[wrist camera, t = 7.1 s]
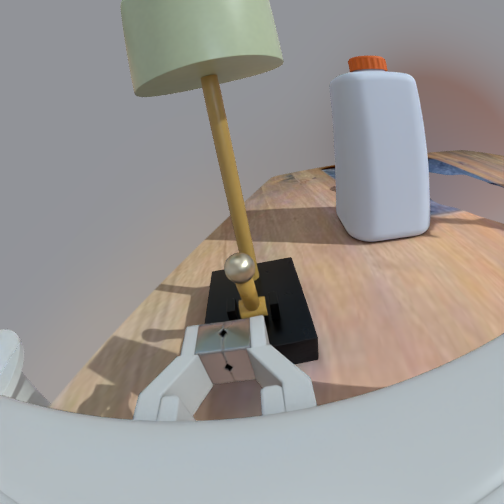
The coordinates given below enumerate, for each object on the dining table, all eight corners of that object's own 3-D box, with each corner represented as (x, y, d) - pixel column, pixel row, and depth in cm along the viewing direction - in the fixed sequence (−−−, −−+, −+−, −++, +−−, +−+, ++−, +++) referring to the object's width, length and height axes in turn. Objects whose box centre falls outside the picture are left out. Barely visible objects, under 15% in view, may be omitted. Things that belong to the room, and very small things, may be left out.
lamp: (339, 354, 23) (275, -76, 7) (189, 378, 24) (73, -21, 8) (302, 259, 39) (258, 6, 23) (206, 276, 40) (145, 32, 24)
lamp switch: (269, 320, 25) (256, 269, 18) (243, 324, 25) (220, 275, 18) (265, 299, 26) (252, 243, 20) (241, 303, 27) (218, 249, 20)
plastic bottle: (401, 203, 50) (389, 65, 37) (437, 235, 37) (430, 54, 24) (332, 212, 52) (312, 66, 39) (352, 248, 39) (329, 49, 26)
